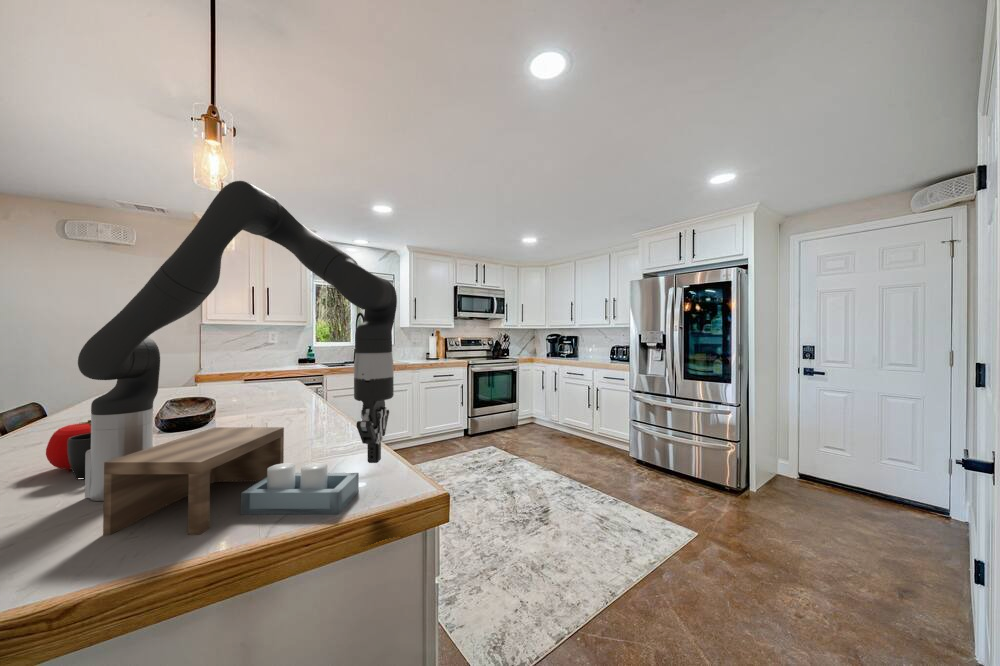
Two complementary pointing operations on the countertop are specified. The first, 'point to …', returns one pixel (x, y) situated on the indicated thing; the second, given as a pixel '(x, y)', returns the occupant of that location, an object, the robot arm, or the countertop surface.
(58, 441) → the tomato
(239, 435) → the counter shelf
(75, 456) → the mug
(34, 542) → the countertop surface
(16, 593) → the countertop surface
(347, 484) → the tray
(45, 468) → the countertop surface
